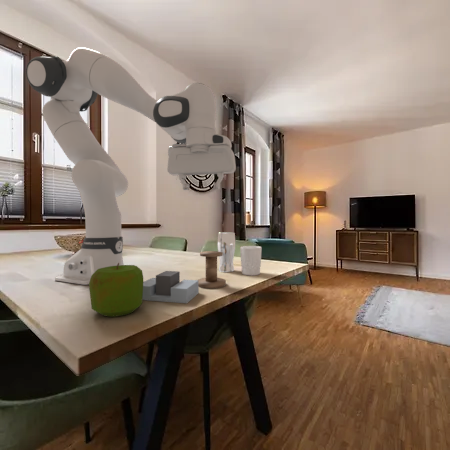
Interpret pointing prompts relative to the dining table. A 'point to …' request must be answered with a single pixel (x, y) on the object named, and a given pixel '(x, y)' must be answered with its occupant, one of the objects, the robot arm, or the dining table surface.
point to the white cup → (250, 260)
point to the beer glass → (226, 251)
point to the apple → (116, 290)
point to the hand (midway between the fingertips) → (201, 189)
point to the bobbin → (211, 271)
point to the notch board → (178, 292)
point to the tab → (166, 282)
